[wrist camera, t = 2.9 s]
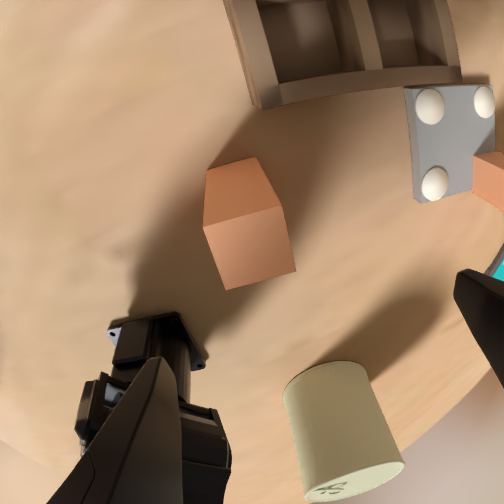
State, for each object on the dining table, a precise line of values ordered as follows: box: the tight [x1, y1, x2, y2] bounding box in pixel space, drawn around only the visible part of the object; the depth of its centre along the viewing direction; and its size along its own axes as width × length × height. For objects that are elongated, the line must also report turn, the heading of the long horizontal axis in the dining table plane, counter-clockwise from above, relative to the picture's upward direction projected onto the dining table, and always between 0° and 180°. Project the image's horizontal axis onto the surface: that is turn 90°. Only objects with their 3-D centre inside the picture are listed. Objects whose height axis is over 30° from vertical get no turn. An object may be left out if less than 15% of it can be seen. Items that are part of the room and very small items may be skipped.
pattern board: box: [404, 84, 504, 212], centre depth 16 cm, size 8×8×6 cm
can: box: [282, 361, 405, 502], centre depth 26 cm, size 9×9×12 cm
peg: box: [203, 156, 296, 290], centre depth 16 cm, size 3×3×8 cm
